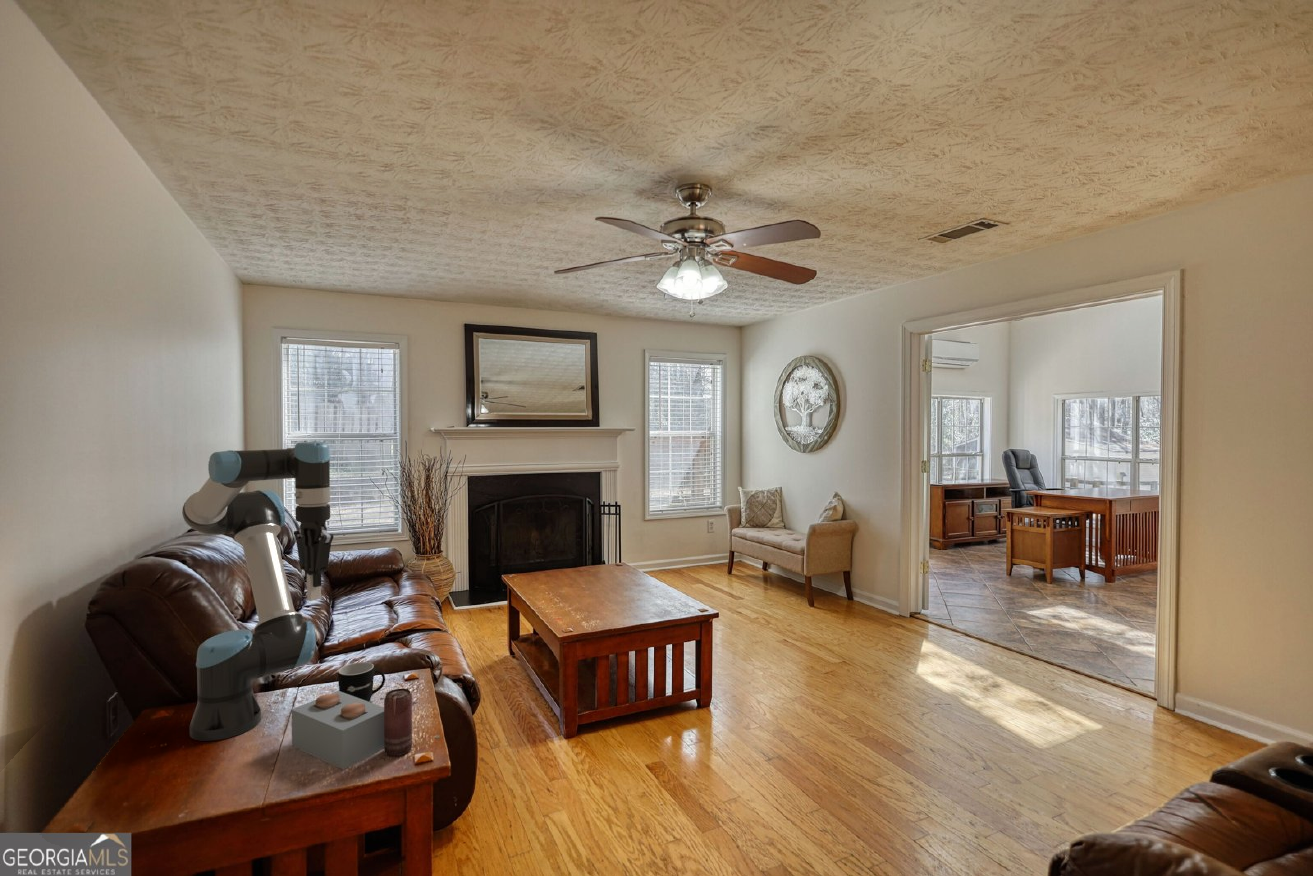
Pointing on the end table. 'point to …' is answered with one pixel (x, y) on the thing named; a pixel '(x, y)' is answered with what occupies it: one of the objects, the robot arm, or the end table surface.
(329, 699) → the peg
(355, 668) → the mug
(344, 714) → the peg
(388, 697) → the can
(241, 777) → the end table surface
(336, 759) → the socket block
